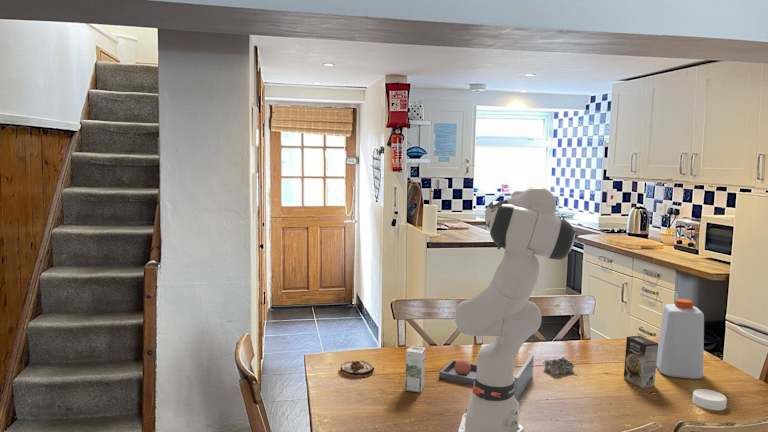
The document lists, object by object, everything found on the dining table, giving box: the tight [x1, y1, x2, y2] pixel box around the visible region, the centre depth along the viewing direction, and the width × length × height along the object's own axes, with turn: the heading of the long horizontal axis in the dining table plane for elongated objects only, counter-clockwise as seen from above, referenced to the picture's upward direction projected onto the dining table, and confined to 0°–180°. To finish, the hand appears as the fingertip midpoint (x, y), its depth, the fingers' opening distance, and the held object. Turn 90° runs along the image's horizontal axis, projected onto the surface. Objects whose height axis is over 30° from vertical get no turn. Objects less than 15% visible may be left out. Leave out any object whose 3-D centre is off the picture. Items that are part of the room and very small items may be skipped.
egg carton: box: [542, 357, 576, 376], centre depth 219 cm, size 11×8×4 cm
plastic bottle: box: [656, 298, 705, 380], centre depth 219 cm, size 15×15×28 cm
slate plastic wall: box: [514, 354, 534, 401], centre depth 202 cm, size 24×1×8 cm, turn 153°
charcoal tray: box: [438, 359, 477, 387], centre depth 212 cm, size 14×14×2 cm
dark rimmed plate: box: [340, 360, 375, 378], centre depth 213 cm, size 15×15×4 cm
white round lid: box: [692, 388, 728, 411], centre depth 192 cm, size 10×10×4 cm
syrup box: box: [404, 345, 426, 394], centre depth 198 cm, size 6×6×14 cm
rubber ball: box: [454, 358, 471, 376], centre depth 210 cm, size 6×6×6 cm
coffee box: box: [623, 335, 658, 389], centre depth 208 cm, size 9×6×16 cm
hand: (519, 276), depth 201 cm, fingers open, 8 cm apart
